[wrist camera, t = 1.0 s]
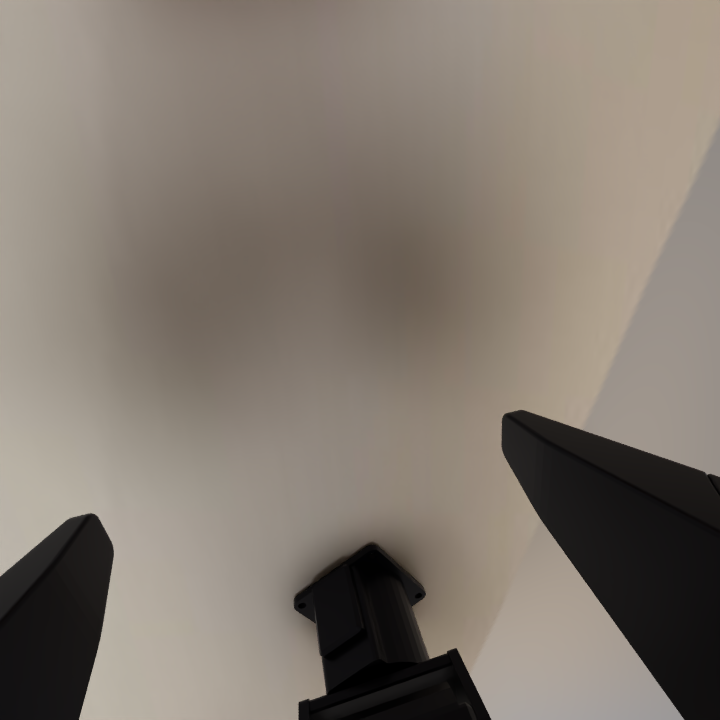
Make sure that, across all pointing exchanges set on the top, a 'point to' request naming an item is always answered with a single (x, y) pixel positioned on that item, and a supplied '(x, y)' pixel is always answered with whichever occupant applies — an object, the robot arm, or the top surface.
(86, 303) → the top surface
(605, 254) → the top surface
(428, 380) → the top surface
